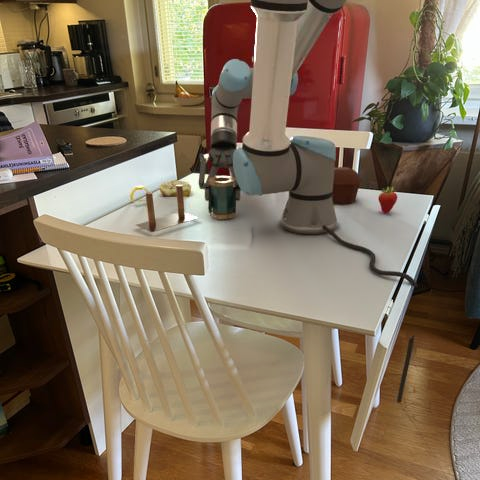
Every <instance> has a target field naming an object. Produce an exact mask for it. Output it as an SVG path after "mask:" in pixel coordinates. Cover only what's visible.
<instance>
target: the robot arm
mask: <svg viewBox="0 0 480 480" xmlns="http://www.w3.org/2000/svg"><path fill="white" fill-rule="evenodd" d="M347 1H348V0H250V8H251V9H252V11H253V12H254V13H255V15H256V28H255V44H254V55H253V56H254V57H253V67H250V66H249V64H248V63H247V62H245V61H243V60H240V59H237V58H233V59H230V60H228V61H227V62H226V63H225V64H224V66H223V68H222V71H221V72H220V75H219V79H218V83H217V85H216V86H215V87H213V90H212V93H211V98H210V99H211V100H210V103H211V116H210V117H211V122H210V149H209V151H208V153H205V154H204V153H202V152H201V153H199V161H200V166H199V175H198V188H199V190H204V200H205V202H207V205H208V206H207V209H208V214H210V213H212V193H211V185H209V178H211V177H215V176H217V173H218V170H219V169H221V168H226V169H228V171H229V174H230V173H231V176H232V177H234V178H235V184H234V185H233V213H236V214H237V202H240V200H241V192H242V193H243V194H244V195H246V196H248V197H249V196H250V197H253V196H260V197H261V196H263V195H270V194H278V193H286V192H288V197H287V201H286V204H285V207H284V209H283V212H282V215H281V218H280V225H281V228H283V229H284V230H286V231H288V232H290V233H294V234H298V235H299V234H300V235H322V234H329V235H330V236H331V237H333V239H335V241H336V242H338V243H339V244H341V245H342V246H345V247H347V248H350V249H353V250H357V251H361V252H364V253H365V254H368V255H369V256H370V261H369V268H370V270H371V271H372V272H373V273H375V274H376V275H380V276H385V277H386V276H387V277H398V278H402V279H404V280H406V281H407V282H408V283H410V285H411V286H412V287H414V288H418V284H417V282H416V280H415V279H414V278H413V277H412V276H410V275H409V274H407V273H405V272H401V271H395V270H394V271H393V270H383V269H382V270H381V269H379V268H377V267H376V266H375V262H376V254H375V253H374V252H373V251H372V250H371V249H369V248H367V247H364V246H361V245H358V244H353V243H350V242H348V241H346V240H344V239H342V238H341V237H339V235H338V234H336V233H335V232H334V230H335V229H336V228H337V224H338V223H337V222H338V218H337V214H336V211H335V206H334V205H335V204H333V201H332V191H333V180H334V169H335V168H336V161H337V159H336V158H337V151H336V149H337V147H336V144H335V143H334V142H333V141H331V140H330V139H326V138H321V137H315V136H308V135H307V136H306V135H294V136H291V137H290V139H289V138H288V136H287V135H286V130H287V129H286V128H287V121H288V120H287V119H288V113H289V112H288V110H289V103H290V96H292V95H294V94H295V92H296V91H297V86H298V83H299V75H298V71H299V69H300V68H301V66H302V65H303V63H304V61H305V60H306V57H307V56H308V55H309V53H310V51H311V50H312V48H313V47H314V45H315V44H316V42H317V40H318V39H319V37H320V36H321V34H322V32H323V31H324V29H325V27H326V26H327V24H328V22H329V21H330V19H331V18H332V16H333V15H335V14H337V13H339V12H340V11H341V10H342V8H343V7H344V6H345V4H346V2H347ZM243 99H244V100H245V99H251V103H250V115H249V116H250V118H249V131H248V132H247V133H246V134H244V135H243V137H242V142H241V143H242V148H238V149H237V143H238V111H239V107H240V105H241V103H242V100H243ZM209 159H210V161H211V162H212V165H211V167H210V170H209V173H208V175H207V178H206V171H207V163H208V161H209ZM205 178H206V181H205ZM414 341H415V335H412V336H411V337H410V338H409V339H408V344H407V349H406V354H405V358H404V359H405V360H404V363H403V368H402V374H401V377H400V382H399V388H398V391H397V392H398V393H397V398H396V403H399V404H401V403H402V401H403V394H404V389H405V385H406V380H407V376H408V371H409V368H410V367H409V366H410V362H411V357H412V353H413V347H414Z"/></svg>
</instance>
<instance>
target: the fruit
mask: <svg viewBox="0 0 480 480" xmlns="http://www.w3.org/2000/svg"><path fill="white" fill-rule="evenodd" d="M394 187H395V186H387V187H386V189H385V188H382V189H381V190H379V192H380V194H379V195H378V198H377V199H378V202H379V204H380V210H381V212H382V213H383V214H388V213H390V212H391V211H392V210H393V208H394V206H395V205H396V203H397V201H398V195H397V193H396V192H397V189H394Z"/></svg>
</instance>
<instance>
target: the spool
mask: <svg viewBox="0 0 480 480" xmlns="http://www.w3.org/2000/svg"><path fill="white" fill-rule="evenodd" d="M234 184H235V178H234V177H231V176H230V175H215V177H211V178H209V185H211V193H212V213H209V216H210V217H211V218H214V219H218V220H227V219H231V218H234V217H236V216H237V212H236V213H233V187H234V186H235V185H234Z"/></svg>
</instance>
